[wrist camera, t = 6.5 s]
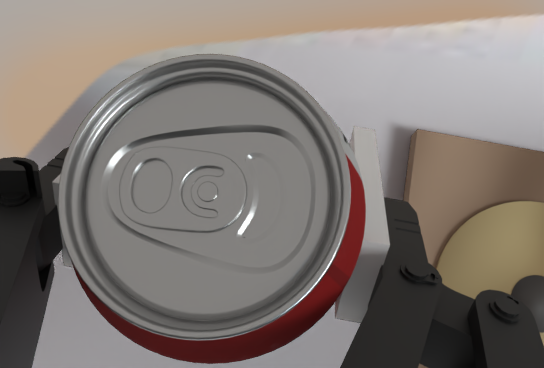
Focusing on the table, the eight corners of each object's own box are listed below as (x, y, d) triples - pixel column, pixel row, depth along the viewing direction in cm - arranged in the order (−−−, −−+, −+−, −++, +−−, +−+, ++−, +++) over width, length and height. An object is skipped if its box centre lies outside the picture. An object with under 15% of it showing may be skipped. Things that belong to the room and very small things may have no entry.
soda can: (313, 337, 20) (374, 402, 8) (153, 319, 20) (-18, 355, 8) (326, 181, 21) (394, 42, 9) (179, 165, 21) (65, 9, 10)
